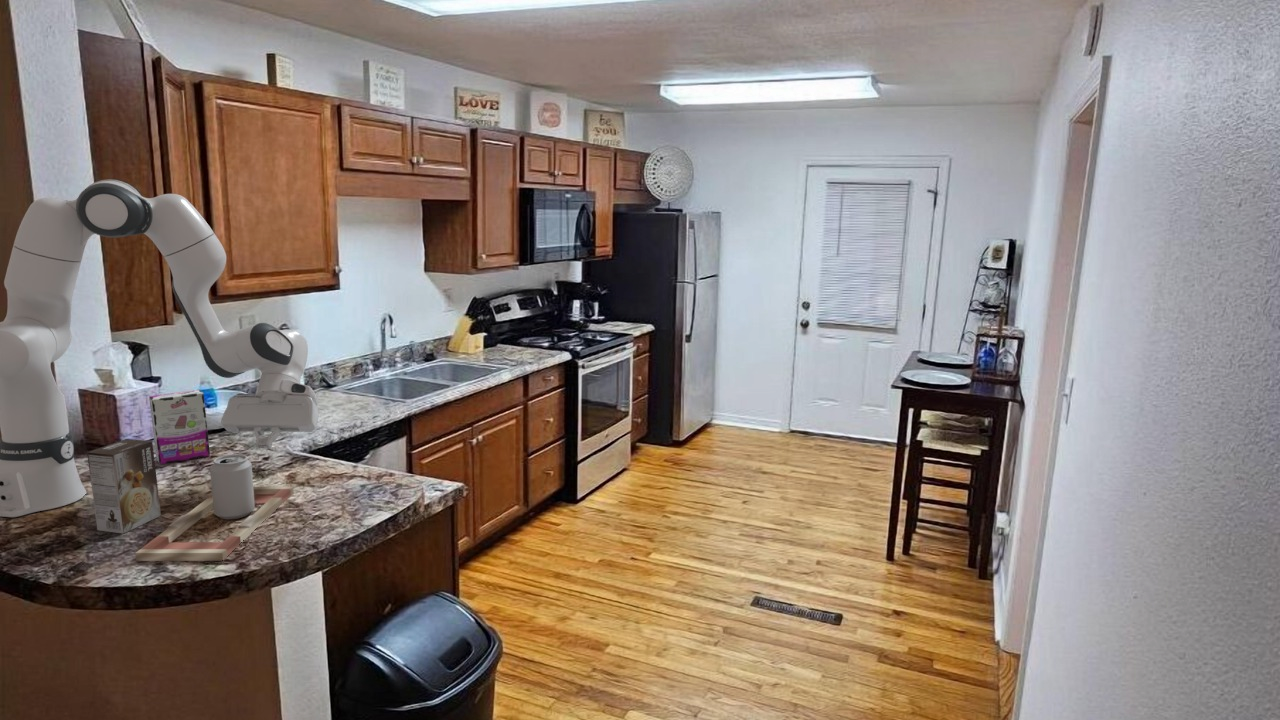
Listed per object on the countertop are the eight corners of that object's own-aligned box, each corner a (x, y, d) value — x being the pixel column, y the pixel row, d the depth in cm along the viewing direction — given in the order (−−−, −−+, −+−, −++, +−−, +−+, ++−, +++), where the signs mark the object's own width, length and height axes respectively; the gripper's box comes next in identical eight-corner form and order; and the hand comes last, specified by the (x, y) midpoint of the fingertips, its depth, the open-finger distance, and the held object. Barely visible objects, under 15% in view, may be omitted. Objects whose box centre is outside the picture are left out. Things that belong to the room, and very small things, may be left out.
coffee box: (135, 513, 157) (127, 437, 153) (162, 516, 155) (154, 440, 152) (95, 531, 148) (85, 451, 145) (123, 534, 147) (114, 454, 143)
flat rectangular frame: (136, 560, 136) (134, 550, 136) (223, 492, 168) (222, 484, 168) (223, 560, 137) (222, 550, 137) (293, 493, 169) (293, 484, 169)
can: (219, 508, 160) (214, 453, 158) (258, 505, 162) (254, 451, 160) (209, 522, 153) (204, 465, 151) (250, 519, 155) (246, 462, 153)
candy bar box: (205, 451, 196) (200, 388, 192) (210, 456, 192) (205, 392, 189) (154, 459, 188) (148, 395, 185) (158, 465, 185) (152, 399, 181)
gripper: (225, 386, 175) (208, 440, 167) (317, 387, 176) (305, 440, 169) (236, 400, 180) (220, 453, 173) (325, 401, 182) (313, 453, 174)
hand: (262, 447), depth 171 cm, fingers closed
